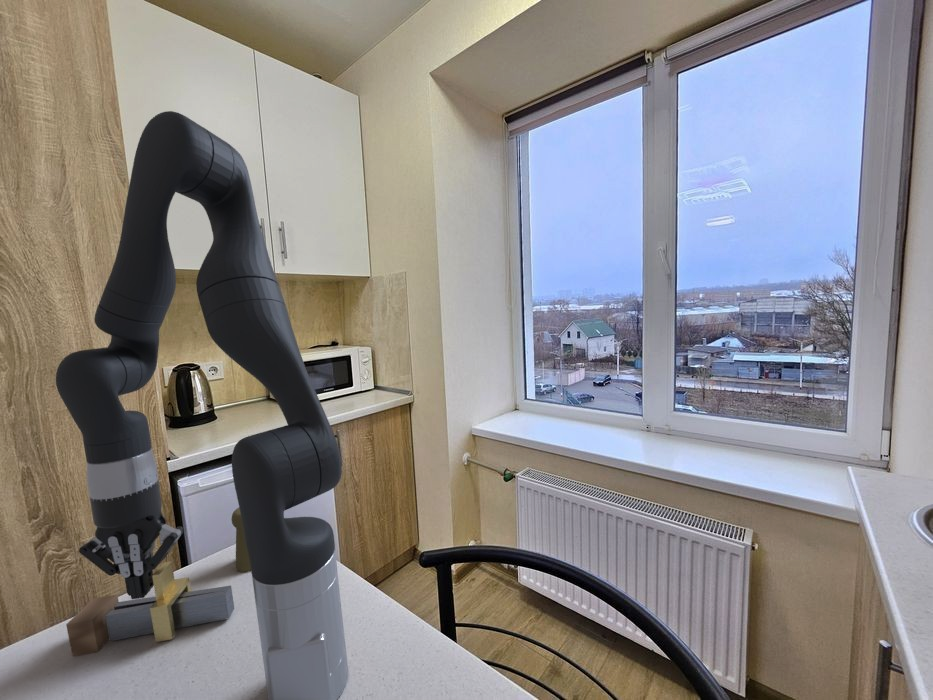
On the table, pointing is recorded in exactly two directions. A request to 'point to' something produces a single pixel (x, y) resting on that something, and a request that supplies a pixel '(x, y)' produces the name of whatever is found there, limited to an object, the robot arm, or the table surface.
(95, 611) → the block
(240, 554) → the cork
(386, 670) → the table surface
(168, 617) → the collar
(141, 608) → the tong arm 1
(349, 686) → the table surface
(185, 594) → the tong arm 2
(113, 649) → the table surface
